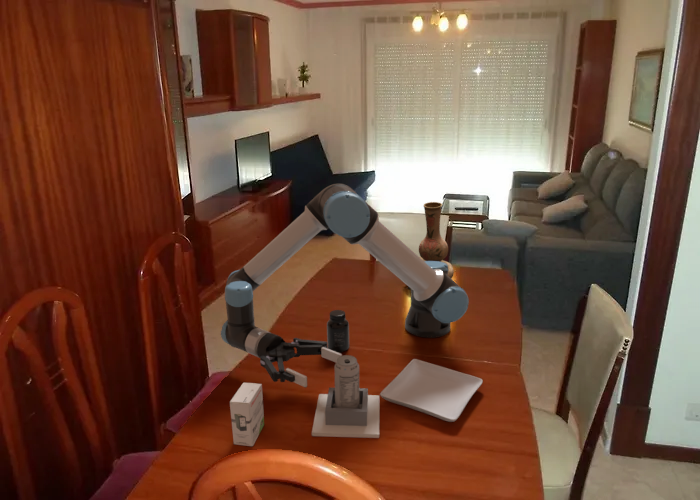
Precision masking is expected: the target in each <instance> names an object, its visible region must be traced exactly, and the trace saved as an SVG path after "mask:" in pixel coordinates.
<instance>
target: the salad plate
mask: <svg viewBox="0 0 700 500" xmlns="http://www.w3.org/2000/svg"><path fill="white" fill-rule="evenodd" d="M483 382H484V381H483V379H482V378H480V377H477V376H474V375H471V374H469V373H464V372H460V371H458V370H454V369H451V368H447V367H445V366H442V365H438V364H434V363H430V362H427V361H424V360H421V359H418V358H413V359H412V360H411V361H410V362H409V363H408V364H407V365H406V366H405V367H404V368H403V369H402V370H401V372H399V374H397V376H396V377H394V379H393V380H391V382H390V383H388V384H387V385H386V386H385V387H384V388H383V389H382V390H381V392H380V393H379V395H380V397H381V398H382V399H384V400H386V401H387V402H390V403H393V404H395V405H396V404H397V405H399V406H403V407H406V408H409V409H412V410H414V411H418V412H421V413H423V414H425V415H430V416H433V417H434V418H437V419H440V420H442V421H446V422H449V423H452V422H455V421H457V420H458V418H460V416H461V414H462V413H463V411H464V410H465V408H466V406H467V404H468V403H469V401H470V400H471V399H472V397H473V395H474V394H475V393H476V392H477V391H478V389H479V388H480V387H481V386H482V384H483Z"/></svg>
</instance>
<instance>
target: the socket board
mask: <svg viewBox="0 0 700 500" xmlns="http://www.w3.org/2000/svg"><path fill="white" fill-rule="evenodd" d="M380 397H381V396H380V394H379V395H374V394H373V395H372V394H369V389H368V388H367V387H366V388H364V387H363V388H361V387H359V409H350V408H335V387H328V392H327V393H319V394H318V399H317V404H316V409H315V414H314V418H313V423H312V424H313V425H312V429H311V437H334V438H336V437H337V438H364V439H366V438H369V439H379V438H380Z"/></svg>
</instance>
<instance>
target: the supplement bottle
mask: <svg viewBox="0 0 700 500" xmlns="http://www.w3.org/2000/svg"><path fill="white" fill-rule="evenodd" d="M349 323H350V322H349V321H348V320H347V319H346V312H345V311H344V310H341V309H334V310H332V311H330V313H329V319H328V321H327V322H326V336H327V337H326V339H327V340H326V342H327V348H329V349H331V350H334V351H335V352H338V353H344V352H346V351H347V350H349V348H350V324H349Z"/></svg>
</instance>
